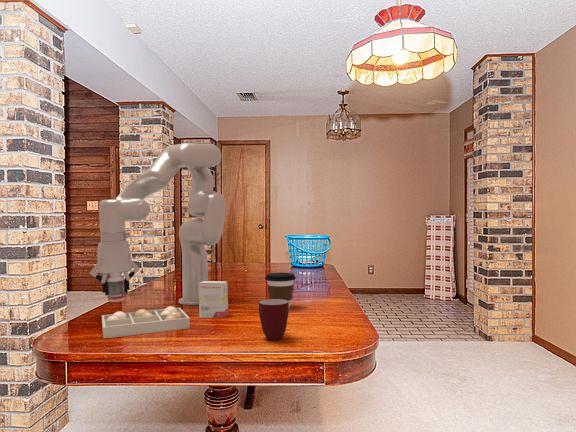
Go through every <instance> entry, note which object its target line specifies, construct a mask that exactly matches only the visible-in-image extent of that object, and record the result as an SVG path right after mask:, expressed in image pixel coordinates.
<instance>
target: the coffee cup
mask: <svg viewBox="0 0 576 432" xmlns="http://www.w3.org/2000/svg"><path fill="white" fill-rule="evenodd" d="M296 279H297V277H296V276H295V274H294V273H293V272H292V273H290V272H271V273H267V274H266V275H265V277H264V280H265V281H266V282H267V284H266V285H267V292H268V297H269V299H283V300H287V301H288V302H289V308H290V307H291V303H292V299H293V291H294V286H295V285H294V283H295V280H296Z"/></svg>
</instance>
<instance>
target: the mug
mask: <svg viewBox="0 0 576 432" xmlns="http://www.w3.org/2000/svg"><path fill="white" fill-rule="evenodd" d="M289 311H290V307H289V302H288V301H287V300H283V299H268V298H267V299H263V300H262V299H261V300H260V301H258V313H259V321H260V326H261V331H262V333H263V335H264V337H265V339H266V340H268V341H273V342H277V341H280V340H281V339H283V336H284V334H285V332H286V330H287V325H288V318H289Z"/></svg>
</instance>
